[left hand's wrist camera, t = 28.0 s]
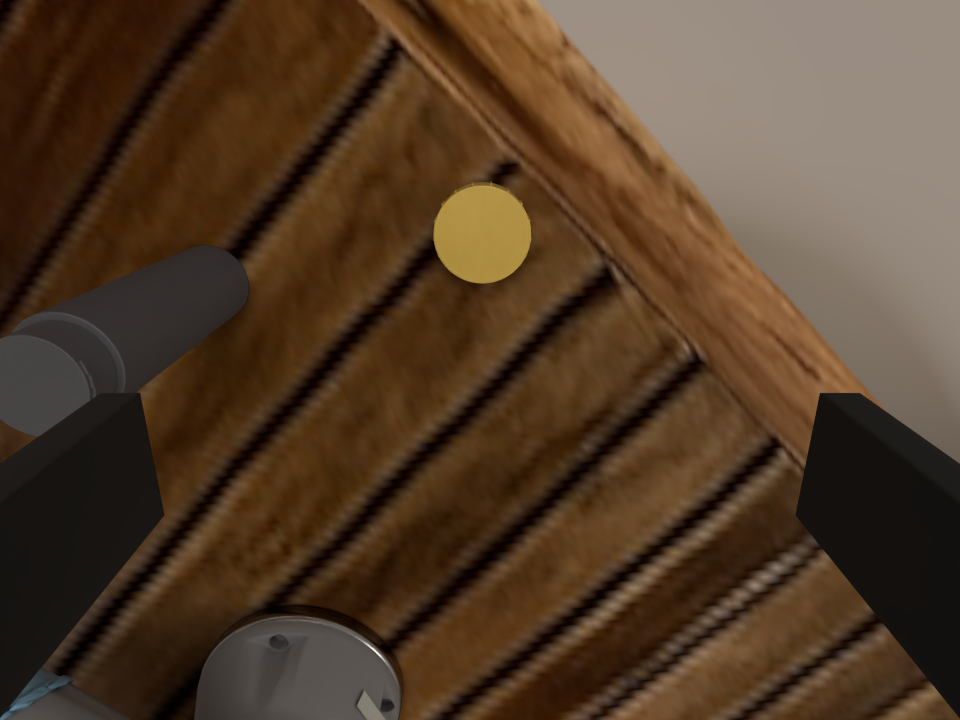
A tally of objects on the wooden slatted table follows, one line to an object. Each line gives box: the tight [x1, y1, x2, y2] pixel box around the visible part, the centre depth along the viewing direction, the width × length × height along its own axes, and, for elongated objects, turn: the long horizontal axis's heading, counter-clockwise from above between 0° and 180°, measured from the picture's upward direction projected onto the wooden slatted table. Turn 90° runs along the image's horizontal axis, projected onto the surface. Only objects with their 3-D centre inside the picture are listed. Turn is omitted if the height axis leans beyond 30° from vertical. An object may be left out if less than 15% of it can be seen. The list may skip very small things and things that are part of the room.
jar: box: [0, 245, 249, 436], centre depth 31 cm, size 5×5×16 cm
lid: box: [433, 182, 532, 283], centre depth 37 cm, size 6×6×2 cm
